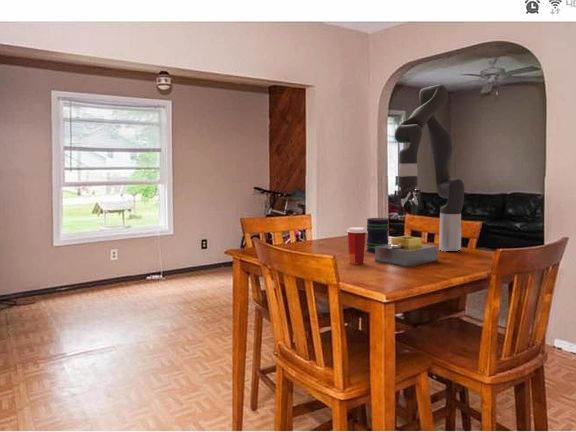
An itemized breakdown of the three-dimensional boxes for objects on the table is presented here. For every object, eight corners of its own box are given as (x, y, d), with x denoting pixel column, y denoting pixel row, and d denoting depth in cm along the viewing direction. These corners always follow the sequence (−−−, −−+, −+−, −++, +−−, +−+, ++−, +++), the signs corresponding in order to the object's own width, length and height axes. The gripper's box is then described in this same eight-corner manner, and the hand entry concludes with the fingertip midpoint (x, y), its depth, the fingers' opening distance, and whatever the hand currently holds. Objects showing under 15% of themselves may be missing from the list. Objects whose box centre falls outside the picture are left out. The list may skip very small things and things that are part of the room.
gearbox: (405, 255, 204) (405, 233, 203) (437, 260, 191) (438, 237, 190) (374, 260, 191) (375, 238, 190) (406, 267, 179) (407, 242, 178)
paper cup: (367, 261, 190) (367, 227, 188) (364, 265, 182) (364, 229, 181) (348, 260, 192) (348, 226, 191) (344, 264, 185) (344, 229, 184)
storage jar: (392, 251, 213) (393, 219, 212) (377, 253, 208) (377, 220, 206) (377, 248, 222) (377, 217, 220) (362, 250, 216) (362, 218, 215)
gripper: (411, 174, 195) (410, 213, 197) (389, 175, 186) (388, 215, 188) (426, 174, 189) (425, 214, 191) (404, 175, 180) (404, 217, 182)
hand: (407, 215), depth 189 cm, fingers open, 8 cm apart
